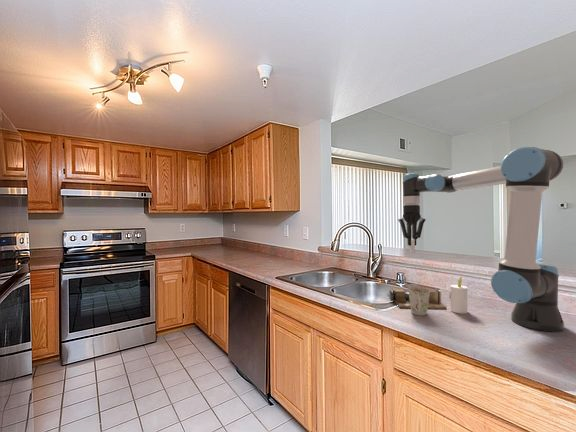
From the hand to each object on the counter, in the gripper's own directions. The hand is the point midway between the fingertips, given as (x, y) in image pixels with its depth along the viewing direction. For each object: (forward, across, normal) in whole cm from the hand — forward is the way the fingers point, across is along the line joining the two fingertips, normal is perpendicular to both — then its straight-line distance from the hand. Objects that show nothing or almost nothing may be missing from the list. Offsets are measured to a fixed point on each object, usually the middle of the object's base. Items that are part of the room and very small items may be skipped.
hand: (412, 252), depth 143 cm
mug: (+23, +7, +25) cm, 34 cm away
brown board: (+23, +2, +7) cm, 24 cm away
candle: (+23, -12, +20) cm, 32 cm away
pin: (+23, +2, +7) cm, 24 cm away
